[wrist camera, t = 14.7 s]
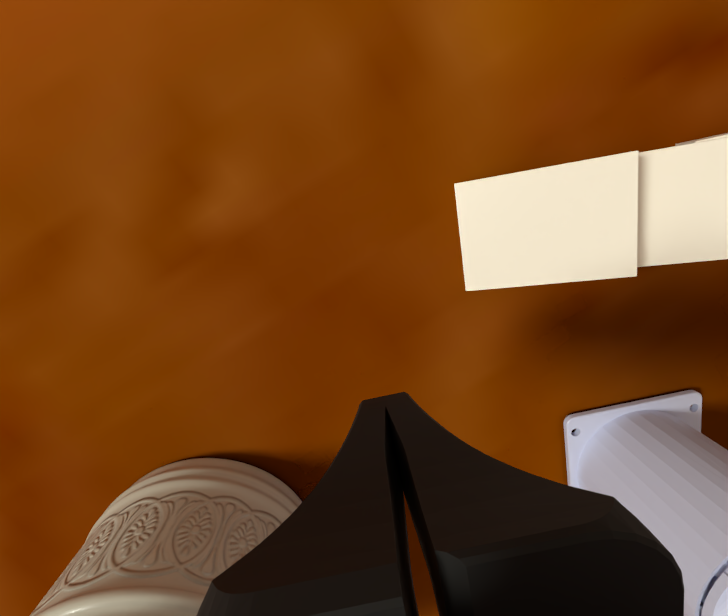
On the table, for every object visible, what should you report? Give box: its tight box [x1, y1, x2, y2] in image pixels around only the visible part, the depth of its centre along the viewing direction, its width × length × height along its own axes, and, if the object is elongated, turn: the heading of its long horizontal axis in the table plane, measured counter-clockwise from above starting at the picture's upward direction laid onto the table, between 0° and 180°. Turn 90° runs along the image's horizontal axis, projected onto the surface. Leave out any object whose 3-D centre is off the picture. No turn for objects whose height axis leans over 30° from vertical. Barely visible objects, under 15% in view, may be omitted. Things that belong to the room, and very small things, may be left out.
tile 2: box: [637, 137, 728, 267], centre depth 18 cm, size 5×2×7 cm
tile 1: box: [454, 151, 638, 291], centre depth 18 cm, size 5×2×7 cm
